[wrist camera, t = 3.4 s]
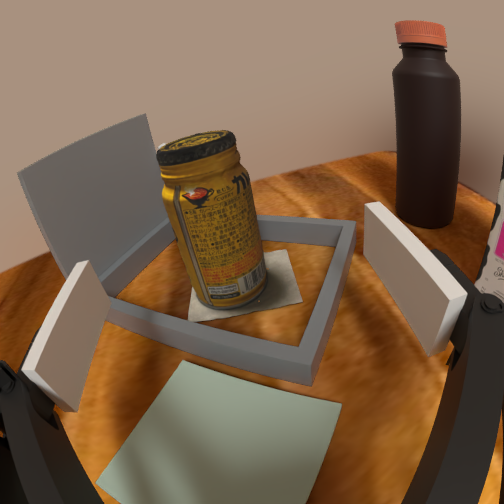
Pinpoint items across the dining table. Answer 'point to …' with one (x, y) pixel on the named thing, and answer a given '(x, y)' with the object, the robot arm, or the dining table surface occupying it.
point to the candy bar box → (494, 252)
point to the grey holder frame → (158, 238)
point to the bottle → (426, 126)
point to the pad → (222, 444)
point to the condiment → (220, 230)
